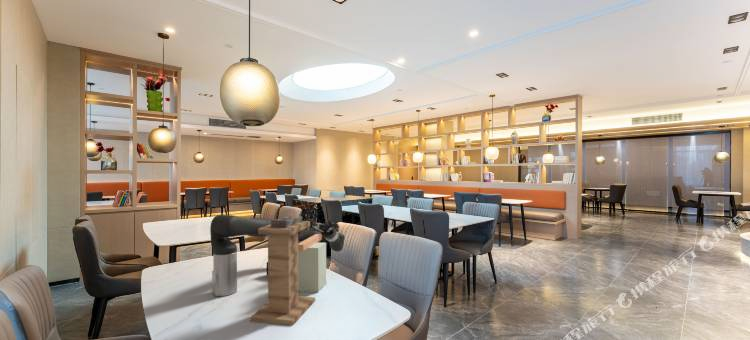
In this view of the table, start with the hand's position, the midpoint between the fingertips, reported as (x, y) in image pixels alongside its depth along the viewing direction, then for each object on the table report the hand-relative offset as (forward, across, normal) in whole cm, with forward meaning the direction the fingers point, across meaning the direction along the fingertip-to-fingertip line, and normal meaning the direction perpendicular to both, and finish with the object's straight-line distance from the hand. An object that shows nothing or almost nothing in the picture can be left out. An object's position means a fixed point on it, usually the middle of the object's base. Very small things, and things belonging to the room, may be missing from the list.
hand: (320, 221), depth 156 cm
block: (+7, 0, -13) cm, 15 cm away
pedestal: (-2, 0, -30) cm, 30 cm away
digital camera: (-12, +21, -25) cm, 35 cm away
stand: (+19, 0, -42) cm, 46 cm away
